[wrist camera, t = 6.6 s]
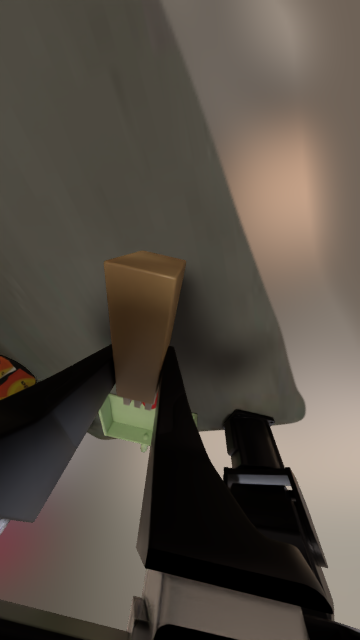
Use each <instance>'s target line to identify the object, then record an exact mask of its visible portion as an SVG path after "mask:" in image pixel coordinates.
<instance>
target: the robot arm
mask: <svg viewBox="0 0 360 640" xmlns="http://www.w3.org/2000/svg"><path fill="white" fill-rule="evenodd" d="M115 383H116V381H115V371H114V361H113V350H112V344H110V345H109V346H107V347H105V348H103V349H101V350H99V351H98V352H96V353H94V354H92V355H90V356H88V357H87V358H85V359H83V360H81V361H79V362H77V363H76V364H74V365H73V366H70V367H68V368H66V369H64V370H63V371H61V372H59V373H57V374H55V375H53V376H51V377H49V378H47V379H45V380H43V381H40V382H38V383H36V384H34V385H32V386H30V387H28V388H25V389H23V390H21V391H19V392H17V393H15V394H12V395H10V396H8V397H6V398H4V399H1V400H0V535H1V533H2V532H3V530H4V529H5V527H6V526H7V524H8V522H9V521H10V520H16V521H24V522H31V523H33V522H34V521H35V519H36V518H37V516H38V514H39V513H40V511H41V509H42V508H43V506H44V504H45V502H46V501H47V499H48V497H49V496H50V494H51V492H52V490H53V489H54V487H55V485H56V484H57V482H58V480H59V478H60V477H61V475H62V473H63V472H64V470H65V468H66V466H67V465H68V463H69V461H70V460H71V458H72V456H73V455H74V453H75V451H76V449H77V448H78V446H79V444H80V442H81V441H82V439H83V437H84V436H85V434H86V432H87V431H88V429H89V427H90V425H91V424H92V422H93V420H94V419H95V417H96V415H97V413H98V412H99V410H100V408H101V407H102V405H103V403H104V402H105V400H106V398H107V396H108V395H109V393H110V391H111V390H112V388H113V386H114V384H115ZM274 423H275V421H274V419H273V418H269V417H265V416H261V415H256V414H252V413H248V412H244V411H239V410H236V411H235V412H234V413H233V414H232V415H231V416H230V418H229V419H228V420H227V421H226V422H225V423H224V425H223V429H225V436H226V445H227V453H228V454H229V455H230V456H231V460H232V468H228V467H224V475H223V480H222V478H221V477H220V475H219V474H218V472H217V471H216V470H215V468H214V466H213V465H212V463H211V461H210V459H209V457H208V455H207V453H206V451H205V448H204V445H203V443H202V440H201V437H200V435H199V432H198V429H197V427H196V424H195V421H194V419H193V416H192V413H191V410H190V407H189V403H188V400H187V396H186V393H185V388H184V384H183V380H182V376H181V372H180V368H179V365H178V361H177V357H176V353H175V349H174V347H172V346H168V349H167V352H166V355H165V358H164V361H163V366H162V372H161V377H160V382H159V389H158V396H157V403H156V410H155V418H154V425H153V432H152V439H151V446H150V453H149V460H148V468H147V475H146V482H145V489H144V497H143V503H142V510H141V518H140V524H139V532H138V539H137V545H136V548H137V551H138V553H139V555H140V557H141V560H142V562H143V564H144V566H145V568H146V576H145V581H144V587H143V593H142V598H140V597H136V596H133V600H132V605H131V610H130V616H129V621H128V627H127V631H123V630H119V629H115V628H111V627H107V626H103V625H99V624H95V623H91V622H87V621H83V620H79V619H75V618H71V617H67V616H63V615H59V614H56V613H52V612H47V611H43V610H39V609H36V608H32V607H28V606H24V605H20V604H16V603H12V602H8V601H4V600H0V640H360V630H359V629H356V628H353V627H350V626H347V625H344V624H341V623H338V622H335V621H334V605H333V600H332V597H331V594H330V591H329V588H328V586H327V583H326V580H325V577H324V574H323V571H322V569H321V567H325V568H328V565H327V562H326V559H325V556H324V553H323V551H322V548H321V545H320V542H319V539H318V536H317V533H316V531H315V528H314V525H313V522H312V519H311V516H310V513H309V510H308V508H307V505H306V502H305V500H304V498H303V495H302V492H301V490H300V488H299V485H298V482H297V480H296V478H295V476H294V474H293V472H292V471H291V469H290V467H285V468H284V465H283V462H282V459H281V456H280V454H279V451H278V448H277V445H276V442H275V440H274V437H273V434H272V431H271V428H270V426H271V425H273V424H274ZM285 486H291V487H292V490H287V488H286V487H285Z"/></svg>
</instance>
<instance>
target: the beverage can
mask: <svg viewBox="0 0 360 640" xmlns="http://www.w3.org/2000/svg"><path fill="white" fill-rule="evenodd" d="M34 384H35V378H34V377H33V375H32V374H31V373H30V372H29V371H28V370H27V369H26V368H25V367H23V366H22V365H20V364H19V363H17V362H15V361H13V360H11V359H9V358H7V357H4V356H1V355H0V400H1V399H4V398H6V397H8V396H10V395H12V394H15V393H17V392H19V391H21V390H23V389H25V388H28V387H30V386H32V385H34Z"/></svg>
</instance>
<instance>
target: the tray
mask: <svg viewBox="0 0 360 640" xmlns="http://www.w3.org/2000/svg"><path fill="white" fill-rule="evenodd" d="M155 409H156V408H155ZM155 409H151V411H149V410H145V407H144V405H143V403H142V404H141V407H140V408H136V407H134V400H132V401H131V403H130V405H129V406H128V405H124V404H123V397H119V396H117V395H114V394H110V393H109V395H108V396H107V398H106V400H105V402H104V403H103V405H102V407H101V408H100V410H99V416H100V420H101V424H102V428H103V431H104V435H106V436H110V437H114V438H119V439H123V440H127V441H131V442H136V443H139V444H141V451H142V452H145V451H146V450H147V447H148V446H151V439H152V432H153V425H154V418H155ZM192 416H193V419H194V421H195V424H196V427H197V414H194V413H192ZM113 421H114V422H113ZM122 423H123V424H122ZM126 424H127V425H126ZM130 425H131V426H130ZM134 426H135V427H134ZM138 427H139V428H138ZM147 429H148V430H147ZM151 430H152V431H151Z"/></svg>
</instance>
